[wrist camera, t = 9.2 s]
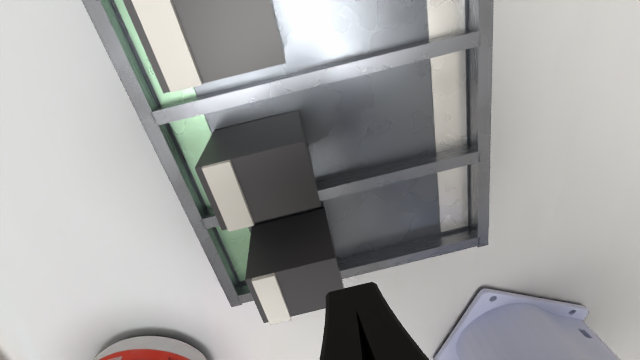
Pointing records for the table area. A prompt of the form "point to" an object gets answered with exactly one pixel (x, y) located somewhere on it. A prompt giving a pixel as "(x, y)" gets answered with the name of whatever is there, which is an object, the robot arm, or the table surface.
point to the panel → (342, 125)
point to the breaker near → (206, 39)
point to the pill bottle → (150, 350)
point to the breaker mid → (258, 171)
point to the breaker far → (292, 266)
